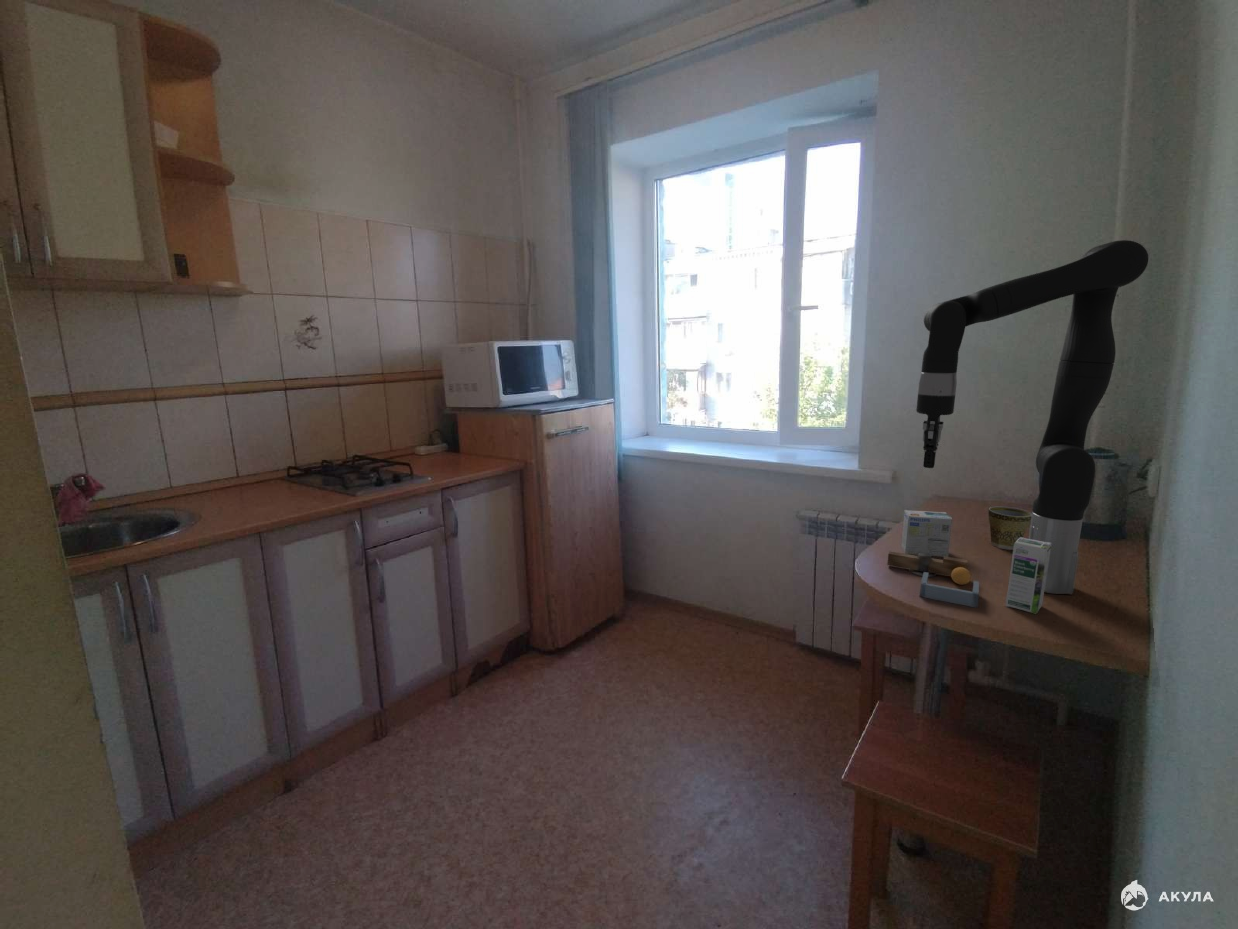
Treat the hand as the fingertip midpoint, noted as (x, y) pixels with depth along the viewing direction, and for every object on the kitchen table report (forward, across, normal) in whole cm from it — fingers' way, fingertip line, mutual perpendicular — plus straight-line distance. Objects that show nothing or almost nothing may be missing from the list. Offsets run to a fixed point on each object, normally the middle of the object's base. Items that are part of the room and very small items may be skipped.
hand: (928, 467), depth 135 cm
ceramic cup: (+27, +37, -19) cm, 50 cm away
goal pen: (+27, -9, -7) cm, 29 cm away
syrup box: (+27, -7, -21) cm, 35 cm away
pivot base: (+27, +3, -1) cm, 27 cm away
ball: (+27, 0, -9) cm, 28 cm away
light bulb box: (+27, +19, 0) cm, 33 cm away
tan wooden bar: (+27, +3, -1) cm, 27 cm away
